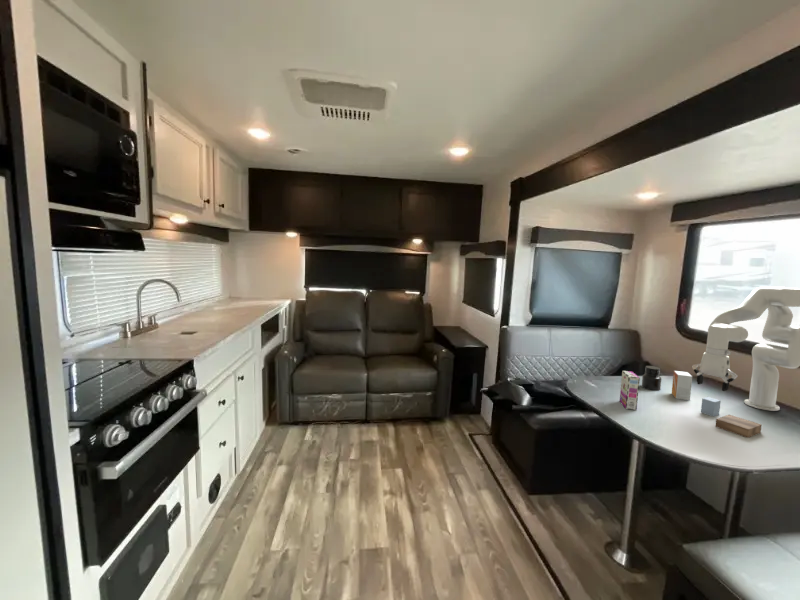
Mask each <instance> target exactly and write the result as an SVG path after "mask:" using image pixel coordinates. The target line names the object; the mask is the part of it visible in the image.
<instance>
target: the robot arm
mask: <svg viewBox="0 0 800 600" xmlns="http://www.w3.org/2000/svg"><path fill="white" fill-rule="evenodd" d="M790 307H791V308H794V307H796V308H797V307H800V288H798V287H785V286H759V287H756V288H755V289H753V290H752V291H751V292H750V294H749V295H748V296H747V297H746V298H745V299H744V301H743V302H741V304H740V305H739V306H737V307H734V308H732V309H729V310H727V311H724V312H722V313H720V314H719V315H717V316H716V317H715V318H714V319H713V320H712V321H711V323H710V324H709V326H708V328H707V338H706V347H705V351H704V352H703V354H702V357H701V360H700V362H699V363H696V364H692V366H691V367H692V369H693V372H694V373H695V374H696V382H697V383H696V384H697V385H703V382H704V375H709V376H713V377H718V378H721V380H723V382H722V386H721V391H723V392H727V391H728V390H729V388H730V383H731V382H734V381H735V380H736V379H737V378H738V374H736V373H735V372H734V371H732V370H731V363H730V356H731V354H732V352H731V351H729V349H728V348H729V344H730V343H729V342H733V343H741V342H744V341H746V340H747V338H748V337H749V333H748V330H747V329H746V328H745V327H743V326H739V325H733V324H734V323H738V322H744V321H751V320H757V319H759V318H760V317H761V316H762V315H763V313H765V311H766V310H767V317H766V320H765V322H764V323H765V324H764V326H763V329H762V332H761V333H762V334H761V337H762V338H763V340H765V341H767V342H770V344H769V343H757V344H755V345H754V346H753V347H752V350H751V356H752V372H751V380H750V386H749V387H750V388H749V394H748V395H749V398H747V399H744V401H743V402H744V403H745V405H747V406H749V407H752V408H756V409H758V410H759V409H760V410H764V411H769V412H770V411H771V412H777V411H780V410H781V409H780V406H779V405H778V404H777V396H778V388H779V381H780V372H779V369H778V368H777V367H781V368H786V369H790V370H791V369H798V368H799V367H800V326H799V325H791V324H792V321H793V318H794V314H793V312H792V310H791V308H790ZM771 343H777V344H780V345H782V344H783V345H787V346H788V347H787V346H786V347H785V346H780V345H776V344H771ZM698 367H699V369H698ZM730 376H731V377H730Z"/></svg>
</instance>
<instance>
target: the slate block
mask: <svg viewBox="0 0 800 600" xmlns="http://www.w3.org/2000/svg"><path fill="white" fill-rule="evenodd" d="M721 402H722V401H721V399H720V400H719V399H717V398H713V397H710V396H705V397H703V398H702V400H701V407H700V413H701V414H704V415H707V416H711V417H716V416H719V415H720V410H721Z"/></svg>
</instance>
